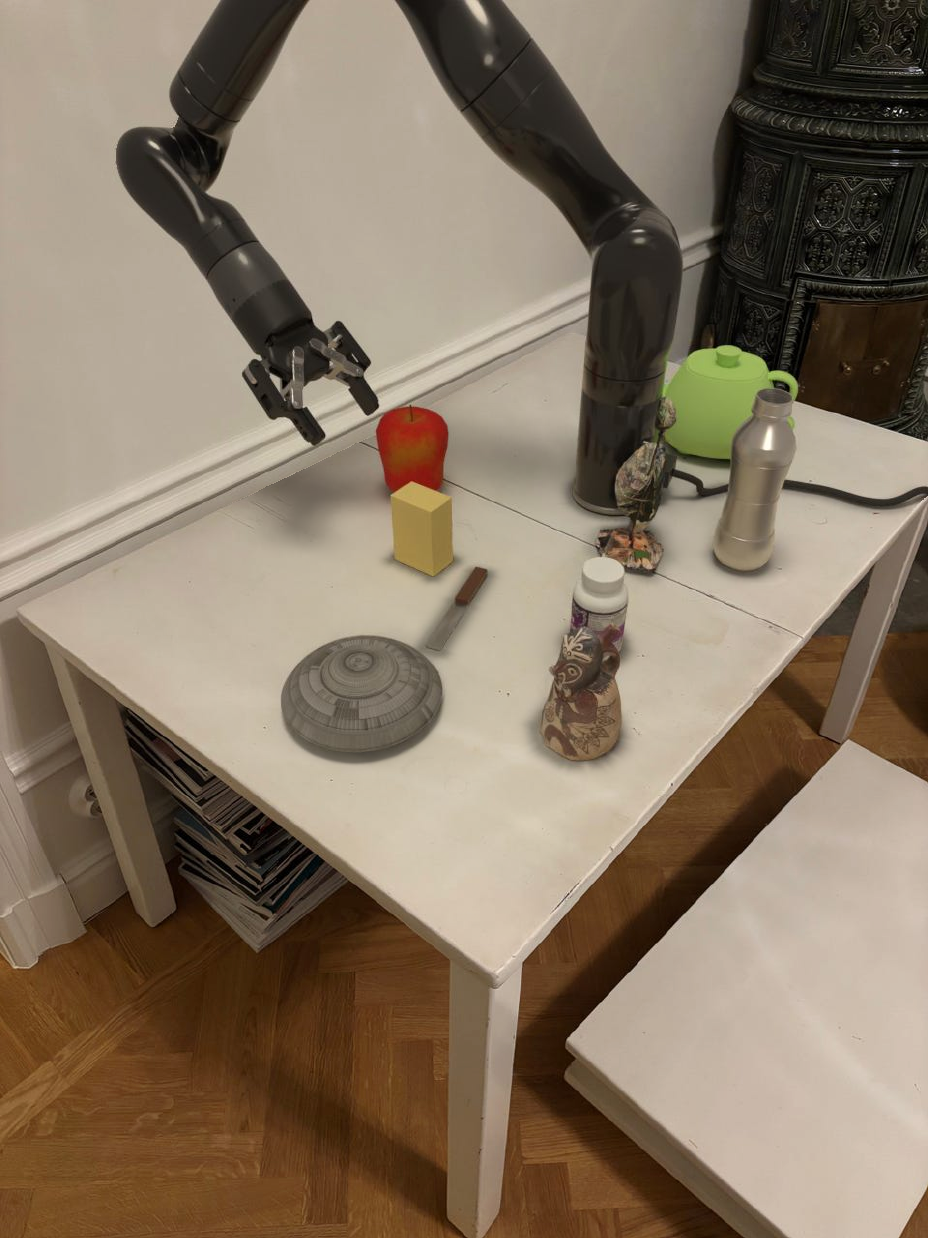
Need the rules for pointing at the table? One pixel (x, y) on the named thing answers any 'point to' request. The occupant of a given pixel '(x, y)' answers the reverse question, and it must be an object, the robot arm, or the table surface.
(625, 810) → the table surface
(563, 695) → the figurine
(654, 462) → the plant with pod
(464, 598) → the butter knife
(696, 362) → the teapot
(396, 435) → the apple
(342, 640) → the flying saucer
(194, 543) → the table surface
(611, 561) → the pill bottle
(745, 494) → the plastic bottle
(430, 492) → the butter portion
